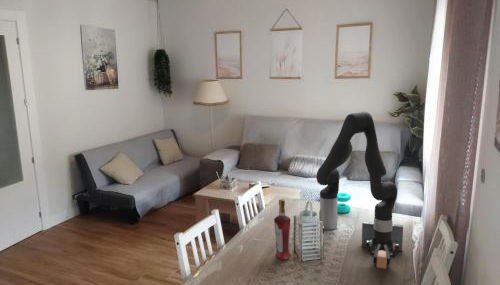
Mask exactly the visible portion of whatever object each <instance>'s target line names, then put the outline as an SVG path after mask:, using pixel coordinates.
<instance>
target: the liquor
mask: <svg viewBox="0 0 500 285" xmlns="http://www.w3.org/2000/svg"><path fill="white" fill-rule="evenodd" d="M285 203H286V200H285V199H284V198H279V199H278V206H279V208H278V209H279V210H278V215H276V217H274V218H273V223H274V235H275V248H276V249H275V250H276V253H275V257H276V258H277V259H278V260H280V261H286V260H288V259H289V258H290V257H291V253H290V245H291V244H290V243H291V242H290V239H291V237H290V236H291V217H290V216H288V215H286V209H285V206H286V204H285Z"/></svg>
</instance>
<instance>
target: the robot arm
mask: <svg viewBox="0 0 500 285" xmlns="http://www.w3.org/2000/svg"><path fill="white" fill-rule="evenodd" d="M340 129H341V130H340V131H339V134H338V136H337V138H336V140H335V142H334V143H333V145H332V146H331V148H330V150H329V153H328V155H327V157H326V158H325V160H324V161H323V163H322V164H321V165H320V167H318V170H317V172H316V181H317V183H318V184H319V185H320V186H325V187H324V188H322V189H321V190H320V191H319V212H318V217H319V218H318V220H320V221H322V222H323V226H324V229H323V230H327V231H331V230H333V231H334V230H336V229H337V228H338V212H337V204H338V201H337V195H338V193H339V188H340V172H339V170H338V168H339V167H342V165H343V164H345V163H346V162H347V161H348V160H349V158H350V156H351V154H352V153H353V145H352V142H351V140H352V138H353V137H354V135H356V134H361V133H363V134H364V135H365V139H366V140H365V141H366V146H365V152H364V163H365V167H366V169H367V173H368V174H369V186H370V189H369V190H370V194H371V196H372V197H373V198H374V199H375V200H376V201H380V202H378V203H376V204H375V206H374V218H373V222H374V231H373V239H372V240H371V241H369V240H366V245H367V247H366V248H367V251H368V254H369V255H370V256H372V257H373V263H374V265H376V266H377V254H378V251H379V250H383V251H386V255H387V267H389V266H390V264H391V259H395V257H396V255H397V254H398V249H399V244H398V243H397V244H395V243H393V241H392V227H393V226H392V224H393V209H394V207H395V203H396V200H397V197H398V188H397V185H396V184H395V183H394V182H393V181H383V182H382V178H383V177H384V176H386V175H387V169H386V166H385V163H384V161H383V159H382V156H381V152H380V149H379V143H378V137H377V132H376V126H375V123H374V120H373V116H372V114H371V112H368V111H359V112H357V111H356V112H350V113H348V114H347V115H346V116H345V118H344V121H343V124H342V126H341V128H340ZM372 243H373V245H374V246H375V248H374V251H373V249H372V248H371V245H372ZM392 245H393V248H394V249H393V250H392V252H391V253H390V250H389V248H390V247H391V246H392Z"/></svg>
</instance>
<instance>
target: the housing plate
mask: <svg viewBox="0 0 500 285" xmlns="http://www.w3.org/2000/svg"><path fill="white" fill-rule="evenodd" d="M361 224H362V225H361V226H362V227H361V247H365V248H367V245H366V240H369V241H371V240H372V239H373V231H374V221H373V222H371V221H362V222H361ZM392 226H393V227H392V241H393V243H395V244H397V243H398V244H399V249H398V251H399V252H402V251H403V239H404V238H403V237H404V235H403V234H404V225H403V224H394V223H392ZM372 248H374V249H375V246H374V245H373V243H372V245H371V249H372ZM393 249H394V248H393V245H392V246H391V247H390V248H389V251H390V250H392V251H393ZM398 251H397V252H398Z"/></svg>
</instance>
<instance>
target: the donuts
mask: <svg viewBox="0 0 500 285" xmlns="http://www.w3.org/2000/svg"><path fill="white" fill-rule="evenodd" d="M351 198H352V197H351V195H350V194H349V193H348V192H347V193H346V192H338V195H337V213H340V214H345V213H349V212H350V211H351V206H350V205H349V204H347V203H346V202H349V201H351Z"/></svg>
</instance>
